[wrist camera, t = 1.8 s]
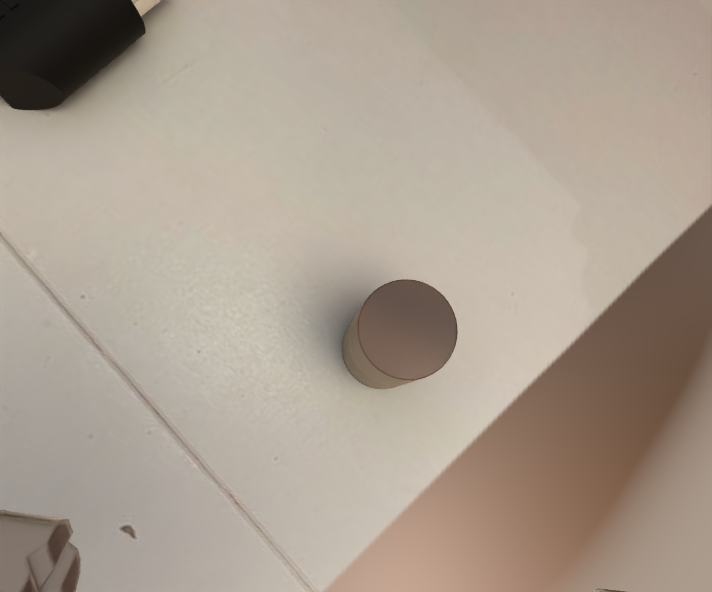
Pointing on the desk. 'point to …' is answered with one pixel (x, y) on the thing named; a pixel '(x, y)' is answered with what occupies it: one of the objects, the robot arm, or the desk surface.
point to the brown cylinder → (400, 335)
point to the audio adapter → (61, 45)
